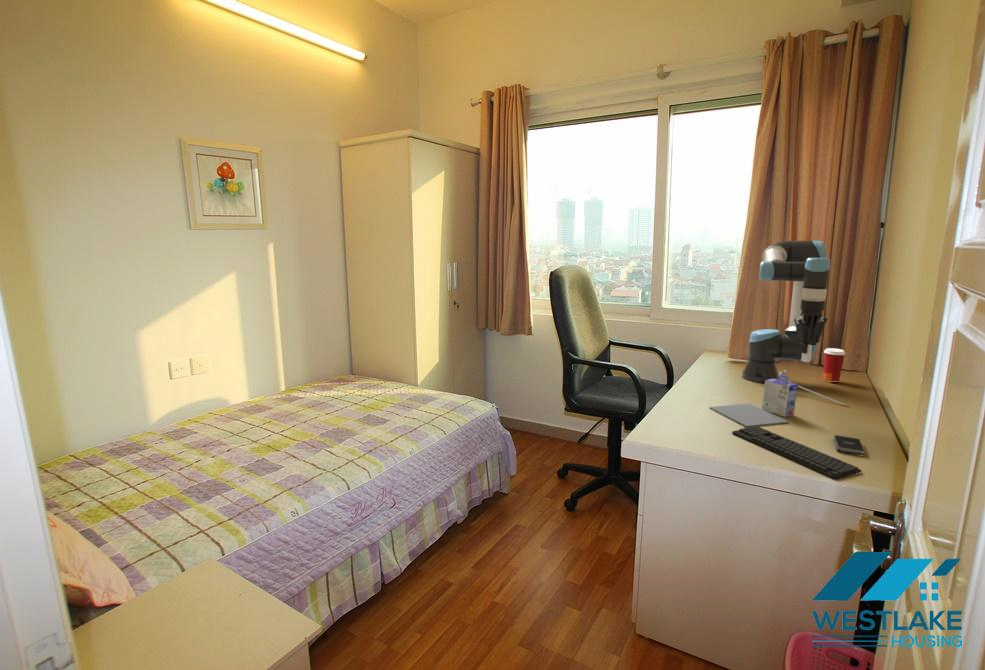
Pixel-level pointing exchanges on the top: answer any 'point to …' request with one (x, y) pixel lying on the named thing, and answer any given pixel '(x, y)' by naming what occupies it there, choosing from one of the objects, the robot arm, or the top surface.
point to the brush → (805, 388)
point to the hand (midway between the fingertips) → (805, 361)
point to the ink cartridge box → (779, 396)
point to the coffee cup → (833, 364)
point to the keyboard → (797, 452)
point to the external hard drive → (849, 445)
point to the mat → (748, 415)
